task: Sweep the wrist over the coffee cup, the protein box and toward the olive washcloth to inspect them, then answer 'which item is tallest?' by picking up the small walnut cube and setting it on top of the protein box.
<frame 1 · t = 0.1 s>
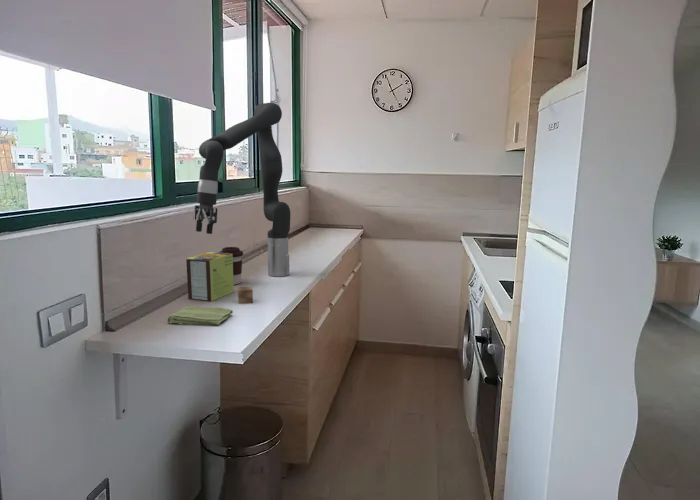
hand: (203, 232, 198), 22 cm above the worktop, tool pointing down, fingers open, 8 cm apart
washcloth: (201, 320, 161), on the worktop
walnut cube: (245, 301, 182), on the worktop
protein box: (211, 296, 190), on the worktop
coffee cup: (231, 283, 210), on the worktop
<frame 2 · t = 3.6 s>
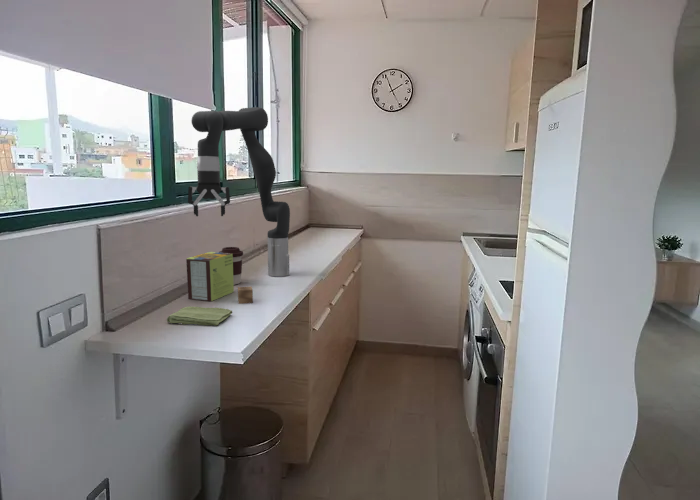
hand: (209, 216, 176), 31 cm above the worktop, tool pointing down, fingers open, 8 cm apart
nothing on the worktop moved.
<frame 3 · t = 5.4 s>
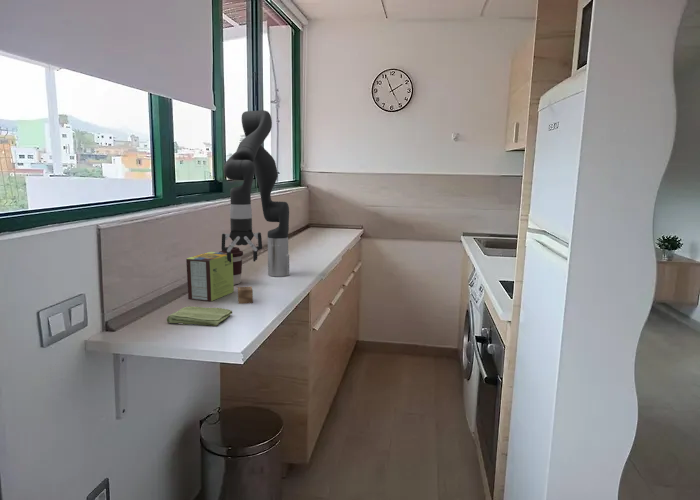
hand: (242, 261, 179), 15 cm above the worktop, tool pointing down, fingers open, 8 cm apart
nothing on the worktop moved.
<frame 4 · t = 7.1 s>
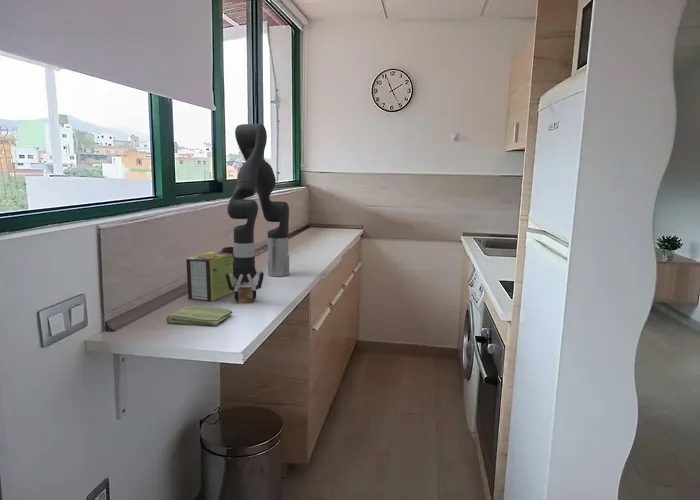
hand: (245, 300, 182), 0 cm above the worktop, tool pointing down, fingers closed on walnut cube, 5 cm apart
walnut cube: (245, 301, 182), on the worktop, touching gripper
everything else where it was.
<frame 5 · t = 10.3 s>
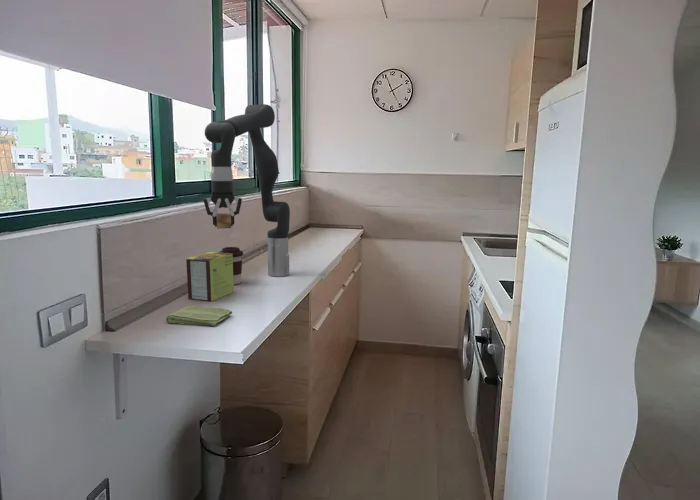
hand: (223, 226, 183), 27 cm above the worktop, tool pointing down, fingers closed on walnut cube, 5 cm apart
walnut cube: (223, 227, 183), point 26 cm above the worktop, touching gripper
everything else where it was.
when the fingers open (18 cm above the worktop, at t = 13.0 s): walnut cube drops 2 cm, resting on protein box.
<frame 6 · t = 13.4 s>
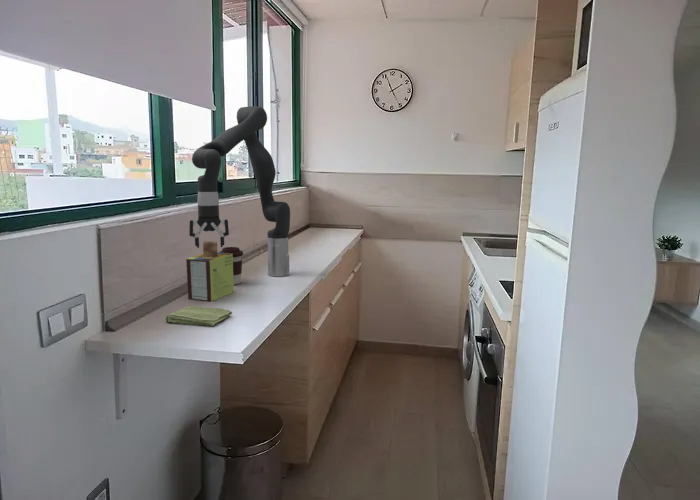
hand: (209, 247, 187), 19 cm above the worktop, tool pointing down, fingers open, 8 cm apart
walnut cube: (210, 255, 188), point 15 cm above the worktop, touching protein box
protein box: (211, 296, 190), on the worktop, touching walnut cube
everything else where it was.
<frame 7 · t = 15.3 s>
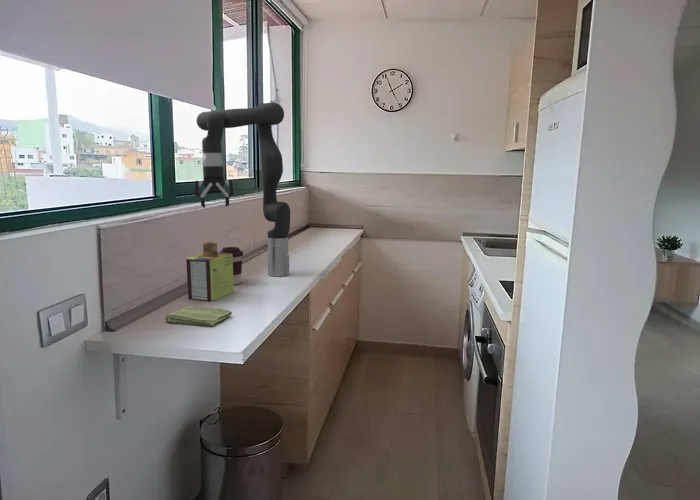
hand: (215, 207, 195), 33 cm above the worktop, tool pointing down, fingers open, 8 cm apart
nothing on the worktop moved.
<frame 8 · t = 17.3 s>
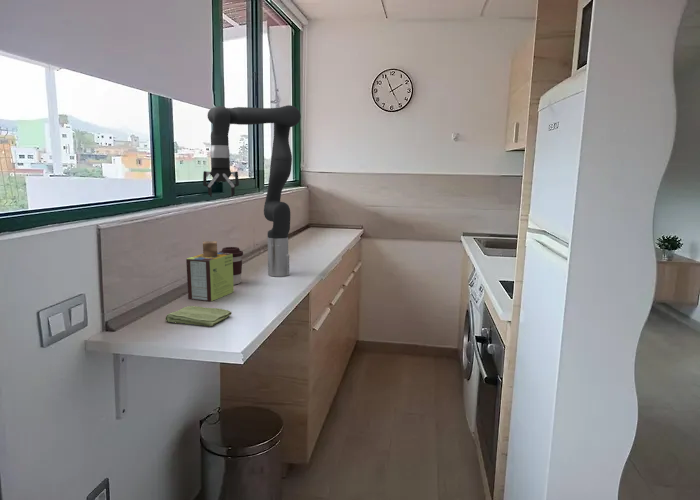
hand: (221, 196, 207), 36 cm above the worktop, tool pointing down, fingers open, 8 cm apart
nothing on the worktop moved.
at the end: walnut cube point 15.4 cm above the worktop; walnut cube 0.4 cm from the protein box (horizontally); the gripper is holding nothing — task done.
